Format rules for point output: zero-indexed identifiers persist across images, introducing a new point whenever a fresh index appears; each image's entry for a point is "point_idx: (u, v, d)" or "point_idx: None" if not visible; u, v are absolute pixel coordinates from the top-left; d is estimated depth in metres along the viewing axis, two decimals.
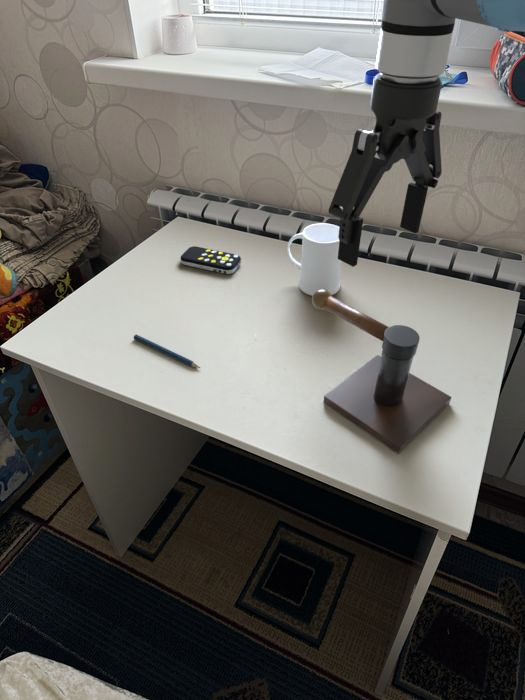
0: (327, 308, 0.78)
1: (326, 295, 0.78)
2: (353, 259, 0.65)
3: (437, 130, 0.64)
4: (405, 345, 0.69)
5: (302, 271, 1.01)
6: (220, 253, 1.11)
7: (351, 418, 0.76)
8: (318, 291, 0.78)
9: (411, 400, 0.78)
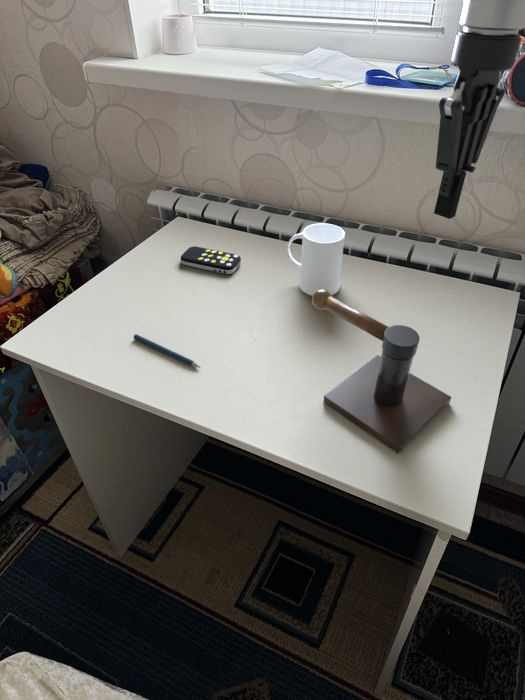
0: (327, 308, 0.78)
1: (326, 295, 0.78)
2: (450, 211, 0.74)
3: (496, 107, 0.69)
4: (405, 345, 0.69)
5: (302, 271, 1.01)
6: (220, 253, 1.11)
7: (351, 418, 0.76)
8: (318, 291, 0.78)
9: (411, 400, 0.78)
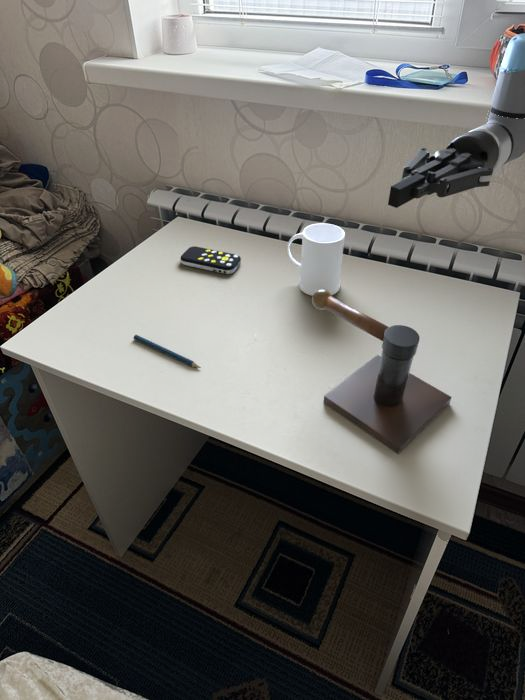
0: (327, 308, 0.78)
1: (326, 295, 0.78)
2: (395, 185, 0.71)
3: (479, 170, 0.75)
4: (405, 345, 0.69)
5: (302, 271, 1.01)
6: (220, 253, 1.11)
7: (351, 418, 0.76)
8: (318, 291, 0.78)
9: (411, 400, 0.78)
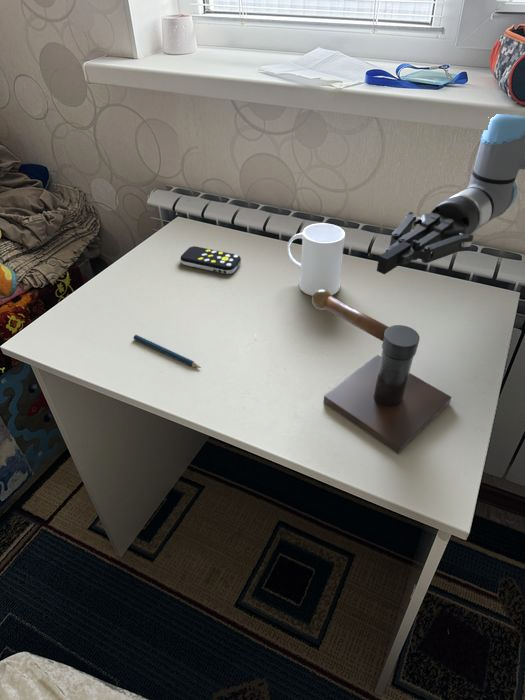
0: (327, 308, 0.78)
1: (326, 295, 0.78)
2: (383, 253, 0.78)
3: (460, 237, 0.82)
4: (405, 345, 0.69)
5: (302, 271, 1.01)
6: (220, 253, 1.11)
7: (351, 418, 0.76)
8: (318, 291, 0.78)
9: (411, 400, 0.78)
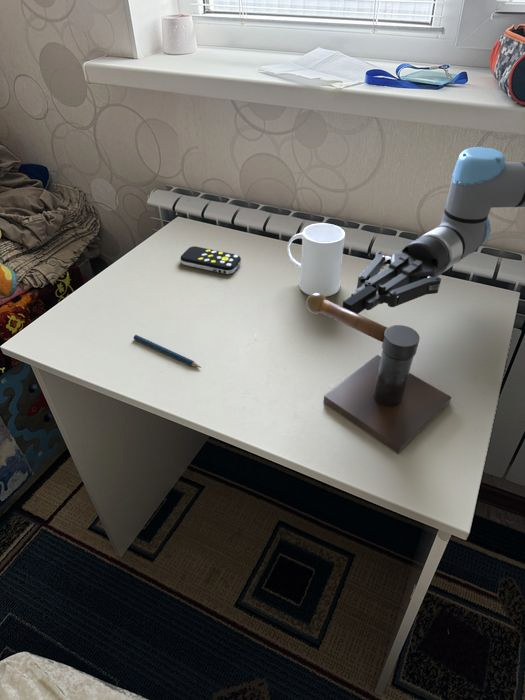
0: (323, 312, 0.77)
1: (321, 299, 0.77)
2: (347, 299, 0.77)
3: (428, 280, 0.81)
4: (406, 345, 0.69)
5: (302, 271, 1.01)
6: (220, 253, 1.11)
7: (351, 418, 0.76)
8: (312, 295, 0.78)
9: (411, 400, 0.78)
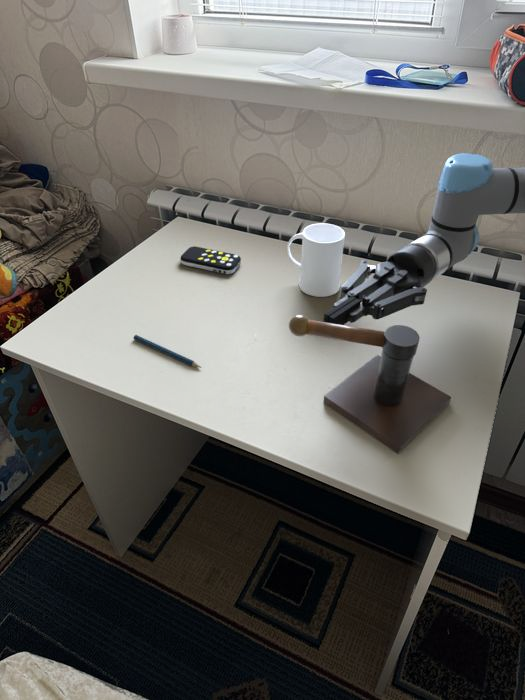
0: (311, 333, 0.73)
1: (305, 320, 0.73)
2: (329, 311, 0.75)
3: (413, 291, 0.79)
4: (412, 343, 0.69)
5: (302, 271, 1.01)
6: (220, 253, 1.11)
7: (351, 418, 0.76)
8: (295, 318, 0.73)
9: (411, 400, 0.78)
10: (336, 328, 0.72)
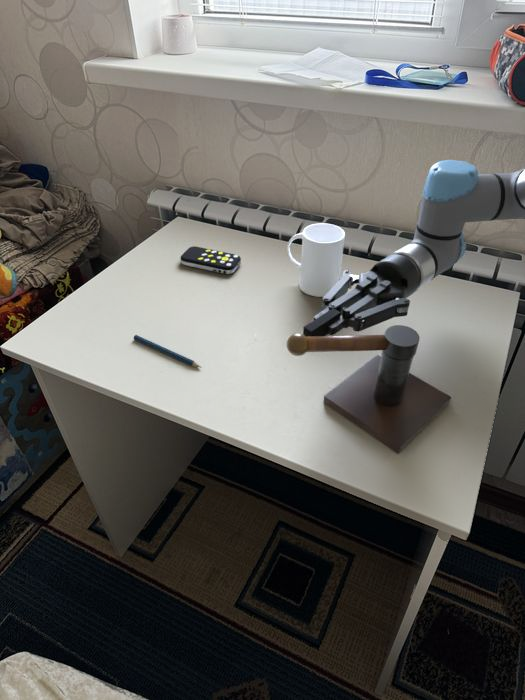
0: (313, 349, 0.70)
1: (304, 338, 0.70)
2: (308, 324, 0.73)
3: (396, 303, 0.77)
4: (415, 342, 0.70)
5: (302, 271, 1.01)
6: (220, 253, 1.11)
7: (351, 418, 0.76)
8: (294, 338, 0.70)
9: (411, 400, 0.78)
10: (337, 340, 0.70)
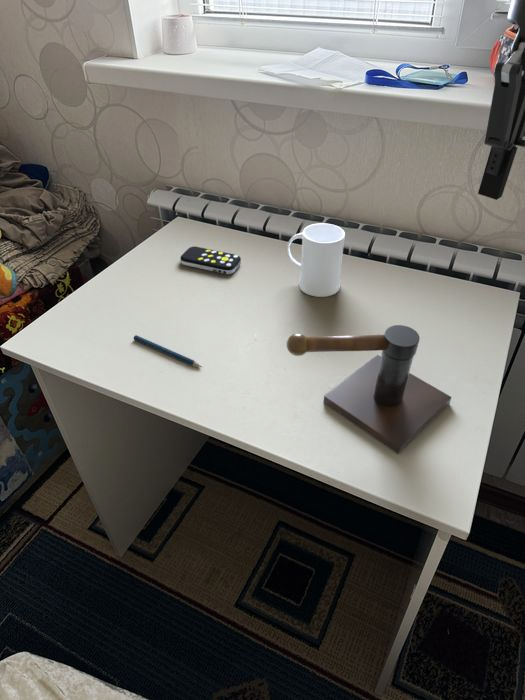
0: (313, 349, 0.70)
1: (304, 338, 0.70)
2: (498, 191, 0.67)
3: None
4: (415, 342, 0.70)
5: (302, 271, 1.01)
6: (220, 253, 1.11)
7: (351, 418, 0.76)
8: (294, 338, 0.70)
9: (411, 400, 0.78)
10: (337, 340, 0.70)
